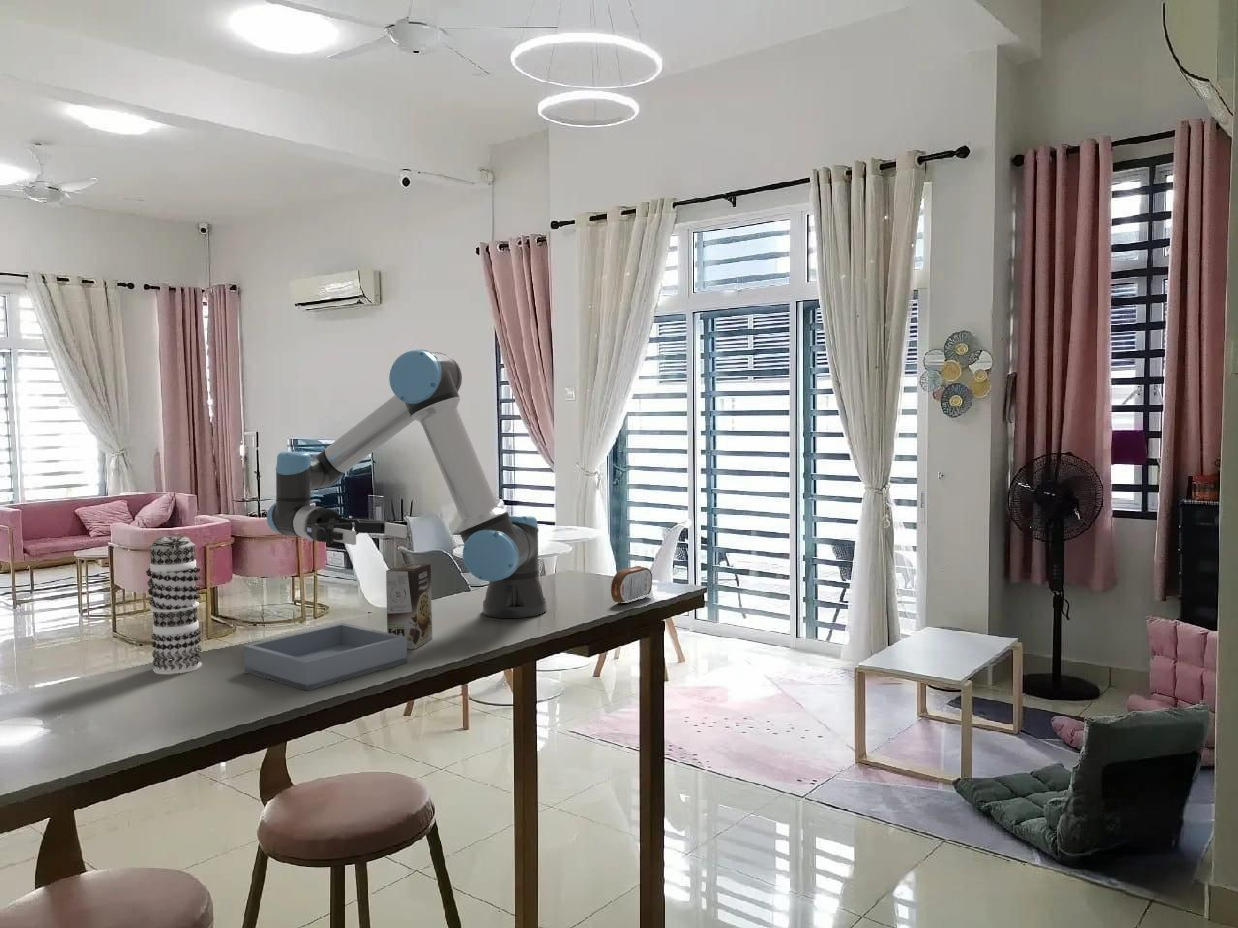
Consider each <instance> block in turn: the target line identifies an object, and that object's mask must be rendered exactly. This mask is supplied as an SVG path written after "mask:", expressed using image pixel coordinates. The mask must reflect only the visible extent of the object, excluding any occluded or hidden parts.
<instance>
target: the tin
mask: <svg viewBox="0 0 1238 928" xmlns="http://www.w3.org/2000/svg"><path fill="white" fill-rule="evenodd" d="M652 585H653V574H652V571H651V570H650V569H649V568H648V567H645V566H641V565H635V566H632V567H628V568H623V569H620V570H619V571H617V572H616V573H615V575H614V576H613V579H612V581H611V584H610V593H611V597H612V600H613V601H614V602H615V603H616V602H625V601H628V600H632V599H635V598H638V597H640V596H643V595H647V594H649V595H650V593H651V591H652Z"/></svg>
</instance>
